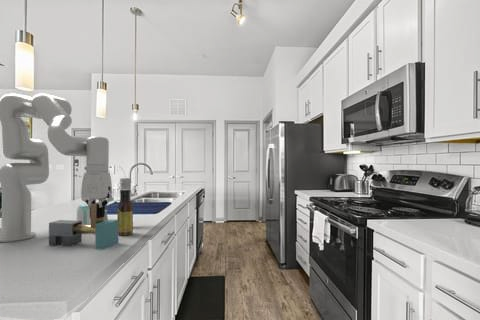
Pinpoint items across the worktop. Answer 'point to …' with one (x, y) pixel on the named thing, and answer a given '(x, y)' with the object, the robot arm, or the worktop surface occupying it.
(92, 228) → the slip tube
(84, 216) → the can
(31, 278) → the worktop surface
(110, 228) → the socket block
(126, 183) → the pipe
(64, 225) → the sleeve
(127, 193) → the sauce bottle
